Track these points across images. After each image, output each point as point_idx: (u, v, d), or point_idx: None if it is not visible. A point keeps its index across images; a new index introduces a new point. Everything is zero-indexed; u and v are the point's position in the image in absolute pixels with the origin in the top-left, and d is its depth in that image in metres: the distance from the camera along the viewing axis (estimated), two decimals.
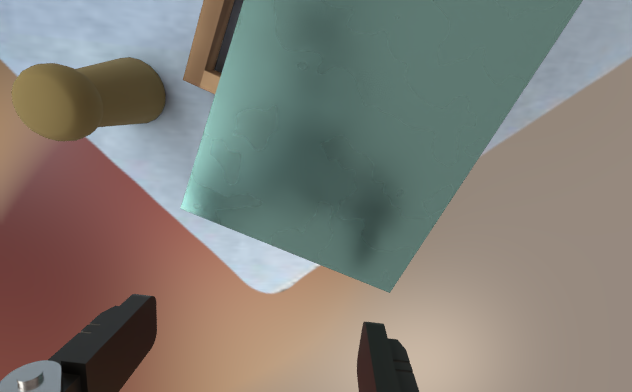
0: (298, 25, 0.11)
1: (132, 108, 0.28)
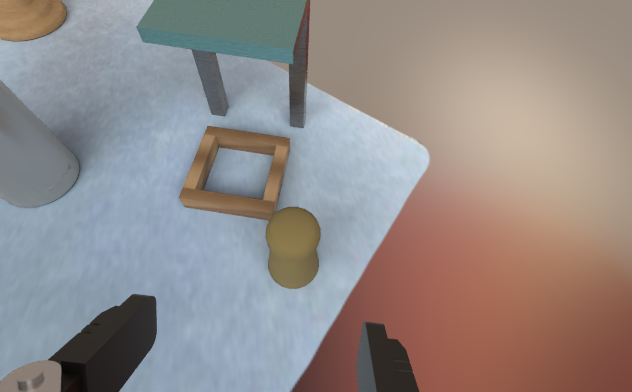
0: (205, 22, 0.30)
1: None
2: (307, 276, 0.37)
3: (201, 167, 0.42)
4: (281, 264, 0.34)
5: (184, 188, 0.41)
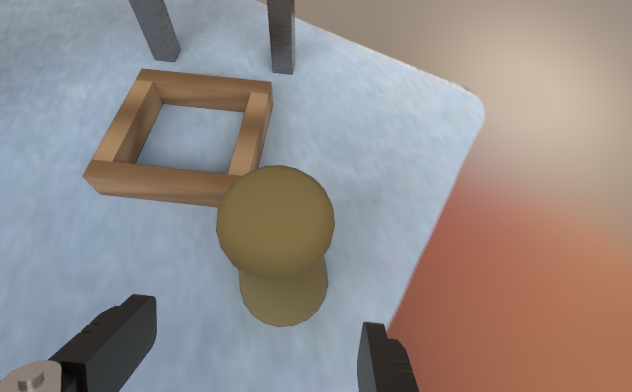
0: None
1: None
2: (309, 304, 0.20)
3: (126, 128, 0.26)
4: (257, 287, 0.17)
5: (93, 161, 0.24)
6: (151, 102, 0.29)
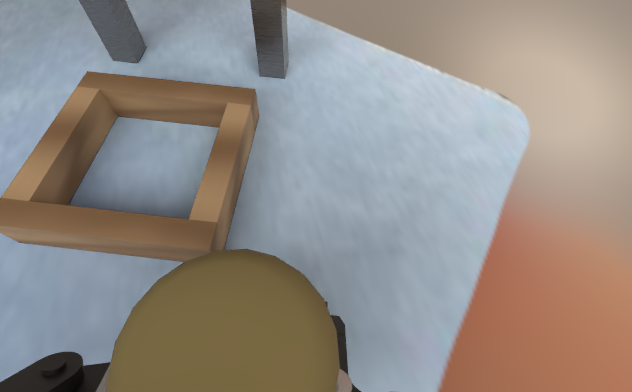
0: None
1: None
2: None
3: (55, 152, 0.19)
4: None
5: (3, 200, 0.17)
6: (98, 115, 0.22)
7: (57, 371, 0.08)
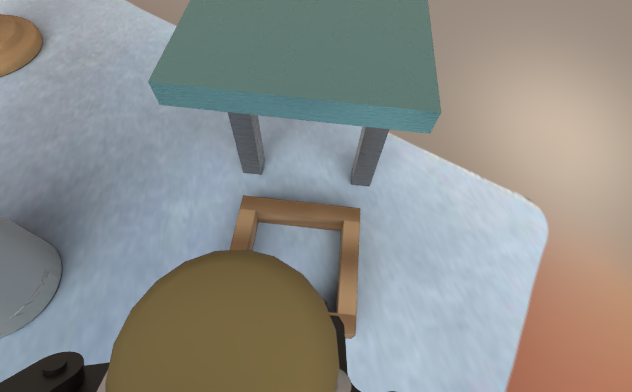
0: (270, 66, 0.17)
1: None
2: None
3: None
4: None
5: None
6: (253, 228, 0.32)
7: (58, 371, 0.08)
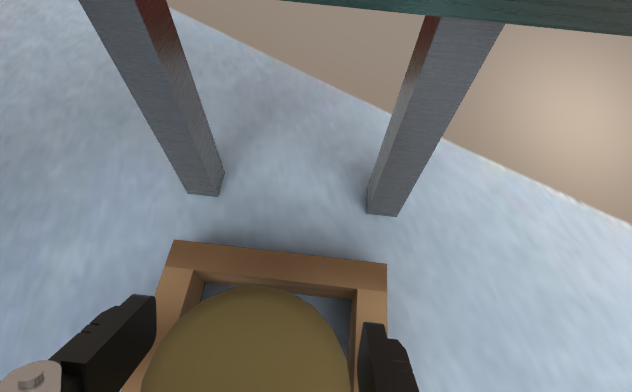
0: None
1: None
2: None
3: None
4: None
5: None
6: (190, 302, 0.17)
7: None
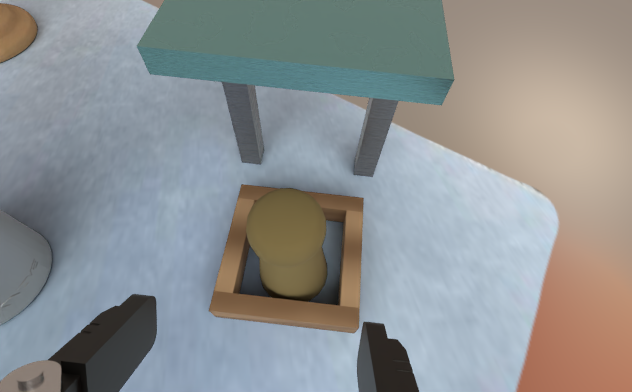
0: (269, 32, 0.16)
1: None
2: (311, 288, 0.27)
3: (239, 254, 0.28)
4: (272, 272, 0.24)
5: (216, 293, 0.26)
6: None
7: None
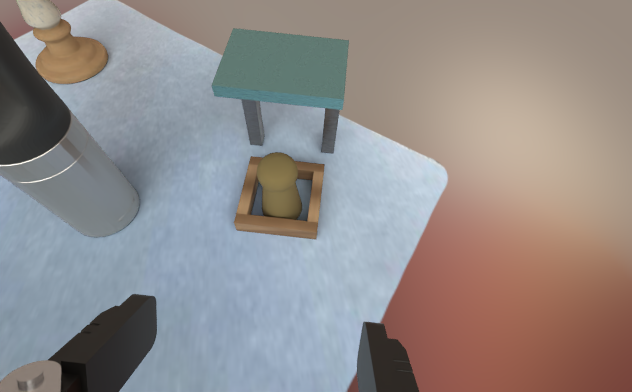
0: (267, 78, 0.36)
1: None
2: (290, 213, 0.47)
3: (250, 194, 0.48)
4: (269, 199, 0.44)
5: (237, 214, 0.46)
6: None
7: None
